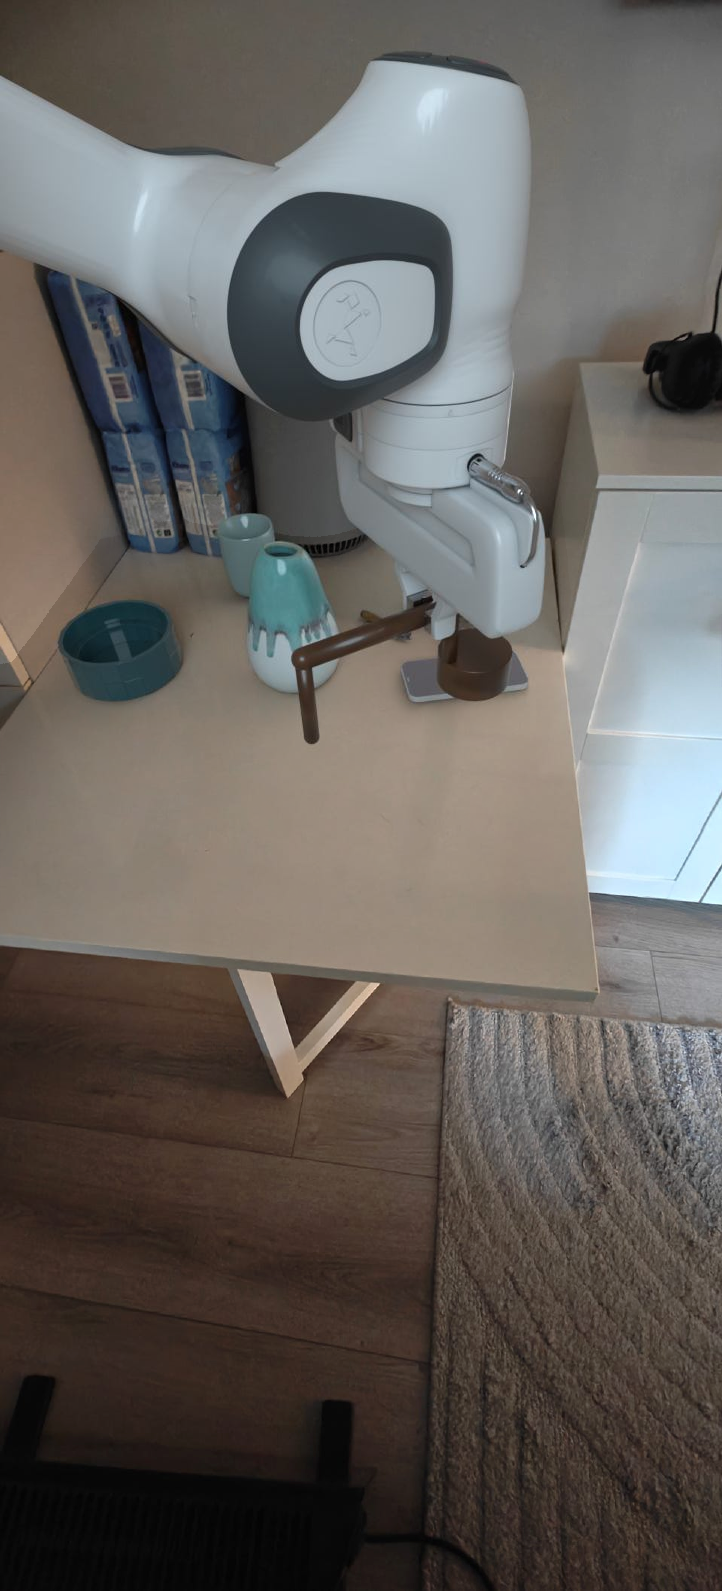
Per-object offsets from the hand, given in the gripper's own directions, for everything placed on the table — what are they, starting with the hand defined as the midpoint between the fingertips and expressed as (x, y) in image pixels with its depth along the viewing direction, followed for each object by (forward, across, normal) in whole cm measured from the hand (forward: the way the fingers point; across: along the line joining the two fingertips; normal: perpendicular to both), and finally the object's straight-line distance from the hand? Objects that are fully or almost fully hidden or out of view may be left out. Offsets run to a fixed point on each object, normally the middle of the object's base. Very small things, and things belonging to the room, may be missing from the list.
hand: (428, 623), depth 55 cm
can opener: (+26, +34, -16) cm, 46 cm away
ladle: (+7, 0, +2) cm, 7 cm away
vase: (+27, +32, -1) cm, 41 cm away
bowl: (+27, +45, +17) cm, 55 cm away
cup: (+27, +53, -5) cm, 60 cm away
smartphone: (+26, +20, -19) cm, 38 cm away
